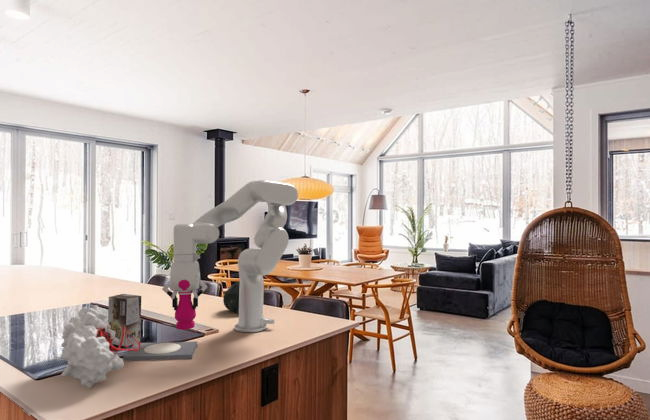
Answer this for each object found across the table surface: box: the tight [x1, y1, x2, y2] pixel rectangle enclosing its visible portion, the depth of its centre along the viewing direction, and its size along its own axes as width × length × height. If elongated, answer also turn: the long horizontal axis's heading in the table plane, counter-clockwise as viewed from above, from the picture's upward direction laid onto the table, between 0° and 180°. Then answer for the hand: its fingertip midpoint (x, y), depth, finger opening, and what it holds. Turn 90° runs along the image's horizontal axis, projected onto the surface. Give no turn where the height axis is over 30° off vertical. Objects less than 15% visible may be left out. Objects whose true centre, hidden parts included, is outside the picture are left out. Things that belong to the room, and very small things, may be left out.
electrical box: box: [107, 293, 142, 348], centre depth 146 cm, size 9×6×16 cm
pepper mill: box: [174, 280, 197, 331], centre depth 151 cm, size 7×7×20 cm
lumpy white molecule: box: [60, 304, 142, 389], centre depth 117 cm, size 20×18×25 cm
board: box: [122, 340, 198, 362], centre depth 137 cm, size 20×14×1 cm
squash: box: [223, 281, 240, 314], centre depth 198 cm, size 14×15×15 cm
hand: (185, 308), depth 151 cm, fingers closed on pepper mill, 5 cm apart
